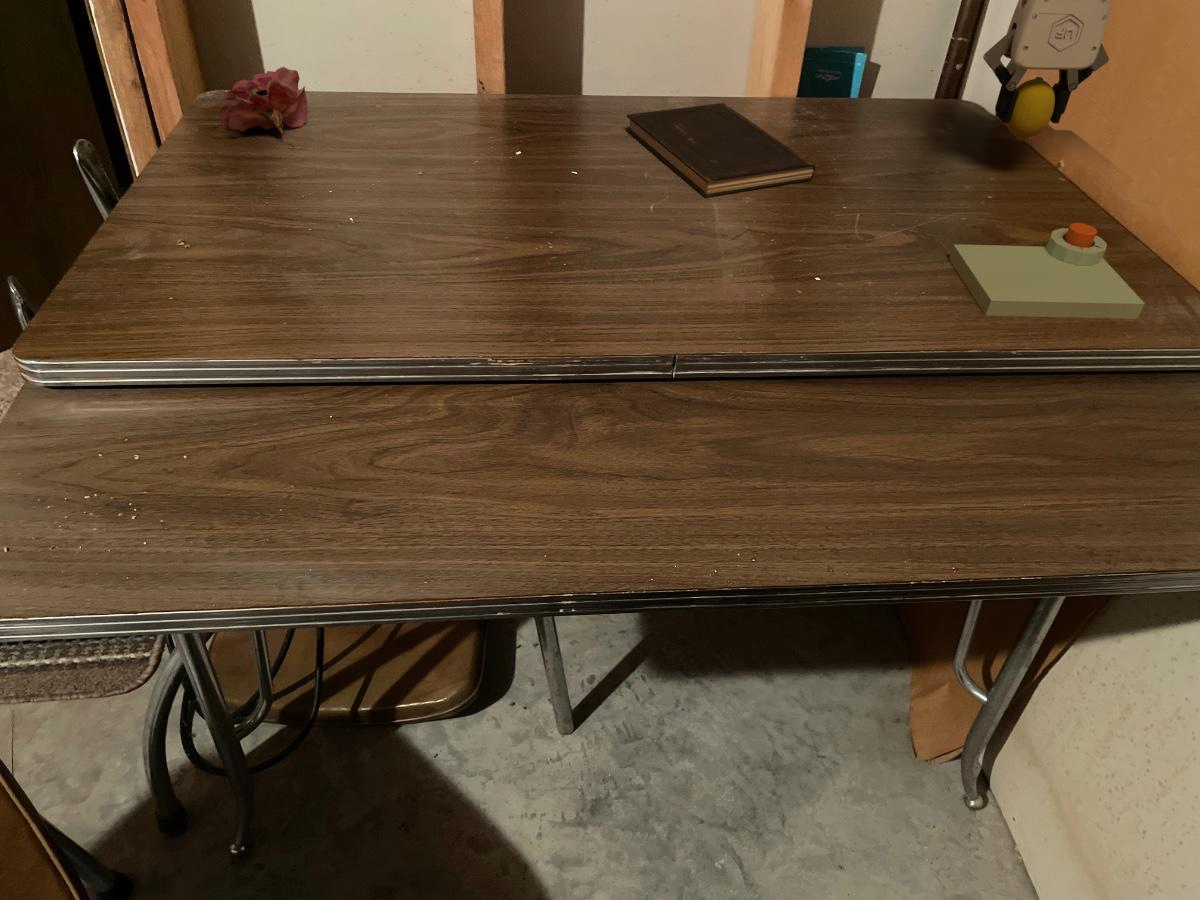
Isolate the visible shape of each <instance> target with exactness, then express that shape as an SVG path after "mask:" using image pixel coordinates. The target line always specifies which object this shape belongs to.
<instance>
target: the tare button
mask: <svg viewBox="0 0 1200 900" xmlns="http://www.w3.org/2000/svg"><path fill="white" fill-rule="evenodd" d="M1068 228H1069V229H1068V231H1067V234H1066V236H1065V239H1064V241H1065V242H1067V243H1069V244H1071V245H1073V246H1077V247H1082V248H1089V247H1091V245H1092V243H1093V241H1094V238H1095V236H1097V233H1098V230H1097V229H1096V228H1095V227H1094V226H1092V225H1090V224H1088V223H1082V222H1072V223H1071V224H1069V226H1068Z"/></svg>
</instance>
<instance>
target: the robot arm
mask: <svg viewBox="0 0 1200 900" xmlns="http://www.w3.org/2000/svg"><path fill="white" fill-rule="evenodd" d="M1111 4H1112V0H1018V1H1017V4H1016V6H1015V9H1014V11H1013V14H1012V17H1011V20H1010V23H1009V25H1008V29H1007V32H1006V34H1005V35H1004V36H1003V37H1002V38H1001V39H999V40H998V41H997V42H996V43H995V44H994V45H993V46H992V47H990V48H989V49H988V50H987V51H986V52H985V53H984V54H983V56H982V58H983V60H984V62H985V63H986V65H988V67H989V68H990V69H991V71H992V73H993V74H994V75H995V77H996V79H997V80H998V82H999V83H1000V89H999V93H998V96H997V99H996V103H995V107H994V112H995V116H996V117H997V118H998V119H999V120H1000V121H1001V122H1002V123H1004V124H1006V123H1008V122H1010V121H1011V117H1012V114H1013V111H1014V108H1015V104H1016V101H1017V98H1018V94H1019V92H1018V91H1017V90H1016V88H1017V87H1018V86H1019V83H1020V82H1021V80H1022V78H1023V77H1024V76H1025V74H1026V73H1027V71H1028V70H1042V71H1043V70H1045V71H1047V70H1048V71H1049V70H1050V71H1052V70H1057V71H1058V82H1057V83H1054V84H1053V86H1051V87H1052V89H1053V90H1054V94H1055V105H1054V111H1053V114H1052V117H1051V119H1050V121H1049V122H1051V123H1052V124H1059V123H1060V121H1061V117H1062V115H1063V114H1064V113H1065V112H1066V110H1067V106H1068V104H1069V100H1070V97H1071V95H1072V92H1074V91H1076V90H1077V89H1078V87H1079V85H1080V84H1081V83H1083V82H1084V81H1085V80H1087V79H1088V78H1089V77H1090V76H1092V74H1093V73H1094V72H1096V71H1097V70H1099V69H1101V68H1102V67H1103V66H1105V65H1106V64H1107V63H1108V62H1109V59H1110V58H1109V56H1108V54H1107V51H1106V49H1105V48H1104V46H1103V43H1102V42H1103V37H1104V34H1105V30H1106V27H1107V23H1108V19H1109V15H1110V9H1111V6H1112V5H1111ZM1003 56H1004V57H1005V58H1007V59H1010V60H1009V62H1008V63H1007V65H1004V64H1003V62H1002V60H1001V59H1002V57H1003Z"/></svg>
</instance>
